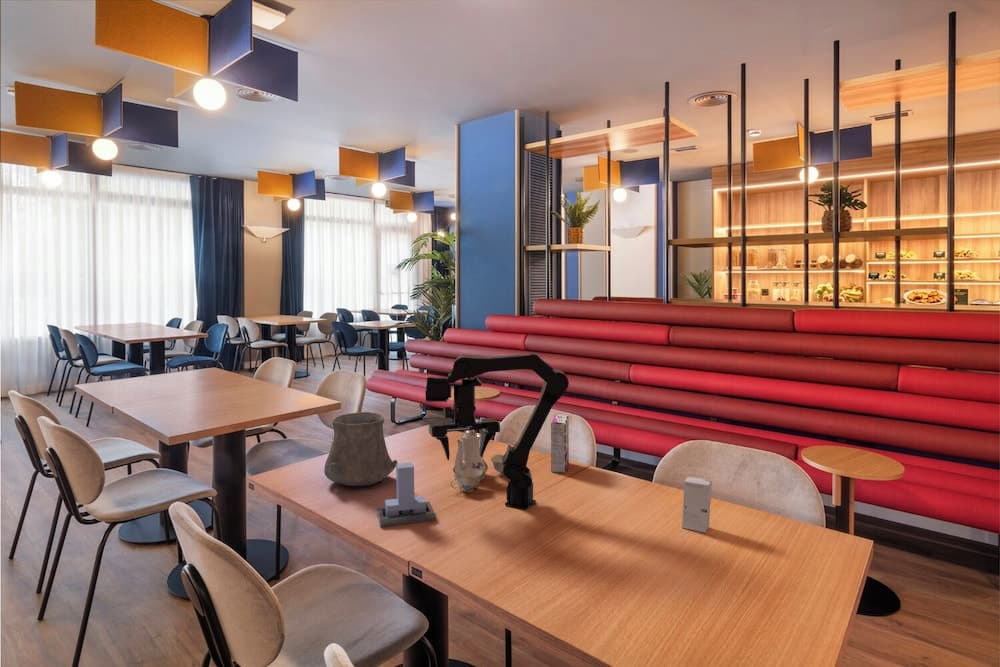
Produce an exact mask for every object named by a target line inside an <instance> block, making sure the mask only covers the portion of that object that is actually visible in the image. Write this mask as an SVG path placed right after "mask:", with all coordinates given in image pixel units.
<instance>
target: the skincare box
mask: <svg viewBox="0 0 1000 667" xmlns="http://www.w3.org/2000/svg"><path fill="white" fill-rule="evenodd" d="M683 482H684V483H683V484H684V485H683V497H682V498H683V499H682V516H681V517H682V519H681V528H682V529H685V530H686V529H687V530H690V531H691V530H692V531H695V532H700V533H706V532H707V531H708V529H709V527H710V516H711V515H710V514H711V503H712V502H711V501H712V500H711V498H712V486H713V481H712V480H710V479H705V478H700V477H694V476H693V477H692V476H690V475H689V476H687V477H686V478H685V480H684V481H683Z"/></svg>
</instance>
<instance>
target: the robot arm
mask: <svg viewBox="0 0 1000 667" xmlns="http://www.w3.org/2000/svg"><path fill="white" fill-rule="evenodd" d="M454 360H455V361H454V363H453V365H452V370H451V371H450V372H449V373H448V375H447V377H446V376H443V377H442V376H440V377H438V376H427V378H426V388H425V391H424V392H425V402H426V403H447V402H448V400H449V399H452V392H453V405H452V406H453V407H451V406H446V407H445V406H444V407H443V413H442V414H443V420H450V423H452V424H446V423H445V422H444V421H433V422H432V421H431V422H430V423H429V424H428V433H429V435H430V436H431V437H432V438H435V439H436V440H437V441H440V443H441V446H442V449H443V451H444V453H445V457H446V459H447V461H450V444H449V436H447V434H448V433H450V432H461V431H465V432H466V431H467V430H474V431H477V430H479V434H480V435H481V436H480V440H479V448H480V457H482V456H483V454H484V453H485V451H486V448H487V446H488V444H489V442H490V441H491V439H492V437H493V436H496V433H500V432H501V424H500V422H499V421H498V420H497V419H496V418H494V417H487V418H486V417H485V418H481V419H480V421H479V422H476V411H477V408H476V387H481V386H482V385H483V383H482V381H481V380H480V379H479V377H477V376H480V375H483V374H486V373H492V372H493V373H494V372H501V371H502V372H503V371H517V370H526V369H527V370H528V369H531V370H532V371H533V372H535V374H536V375H538V376H539V377H540V378H541V379H542V380H543V382H542V383H543V384H542V387H541V390H540V395H539V398H538V401H537V403H536V404H535V406H534V409H533V410H532V413H531V414H530V417H529V418H528V420H527V423H526V424H525V426H524V428H523V430H522V432H521V434H520V436H519V438H518V440H517V441H516V443H515V444H514V445H513V446H512V445H511V444H508V445H507V448H506V451H505V453H504V454H502V455H503V456H502V462H503V473H504V475H505V476H504V477H505V478H506V479H507V480H508V481H507V486H506V502H505V503H504V505H505V506H507V507H512V508H517V509H521V510H526V509H528V508H529V507H530V508H531V506H533V505H535V503H536V502H537V500H536V499H534V482H533V478H532V471H531V470H530V468H529V467H528V466H527V464H528V460H529V456H530V452H531V449H533V448H532V447H533V445H534V443H535V441H536V439H537V437H538V436H539V434H540V431H541V430H542V428H543V425H544V423H545V422H546V420H547V418H548V416H549V414H550V411H551V410H552V407H554V405H555V404H556V403H557V402H558V401H559V400H560V399H561V398H562V397H563V395H564V393H565V392H566V391H567V390H568V388H569V385H570V384H569V383H570V382H569V379H568V377H567V375H566V373H564V371H563V370H561V369H559V368H553V366H551V365H550V364H549V363H547V362H546V361H544V360H543V359H542V358H541V356H539V355H538V354H537V353H535V352H529V353H521V354H520V353H519V354H510V355H500V356H499V355H497V356H482V355H474V354H460V355H459V356H458V357H457V358H455V359H454ZM472 377H473V378H472ZM460 379H461V381H459V380H460ZM452 387H453V391H452ZM483 457H484V456H483Z"/></svg>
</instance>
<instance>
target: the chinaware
mask: <svg viewBox="0 0 1000 667" xmlns="http://www.w3.org/2000/svg"><path fill="white" fill-rule="evenodd" d="M459 437H460V439H456V442H457V450H456V453H455V454H456V455H455V459H454V466H453V468H452V471H453V475H454V477H453V478H452V479H451V481H450V486H451V488H452V489H457V488H458V489H459V491H461V490H463V491H464V492H472V491H475V490H476V489H475V488H476V487H477V486H478V485H480V484H479V483H480V481H482V480H484V479H485V475H486V473H487V472H488V469H489V467H488V464H487V462H486V460H485V459H484V454H483V456H482V457H480V438H481V435H480V433H478V432H476V430H466V431H465V432H464V433H461V434H459ZM503 455H504V454H498V453H497V454H495V455H493V457H490V458H489V460H490V461H491V462H492V465H493V469H494V470H496V471H497V472H498V475H499V476H502V477H503V476H504V477H505V475H504V473H503V462H502V456H503ZM453 481H456V482H457V484H458V486H456V487H454V486H453Z"/></svg>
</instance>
